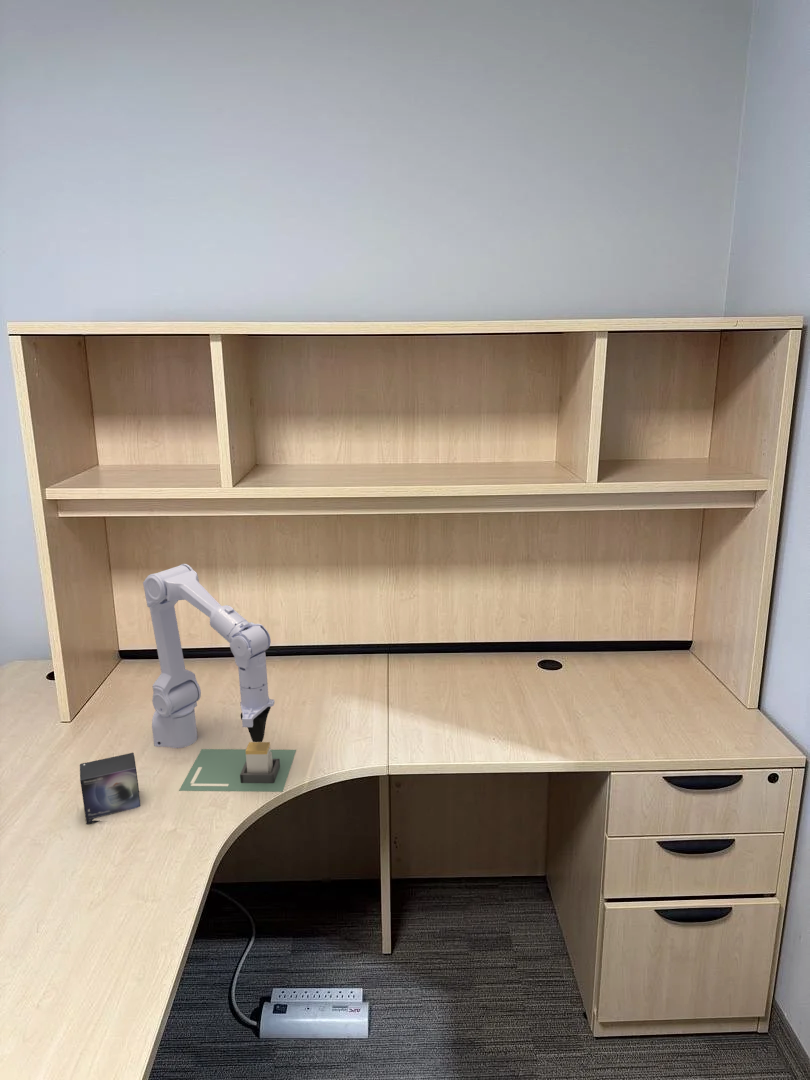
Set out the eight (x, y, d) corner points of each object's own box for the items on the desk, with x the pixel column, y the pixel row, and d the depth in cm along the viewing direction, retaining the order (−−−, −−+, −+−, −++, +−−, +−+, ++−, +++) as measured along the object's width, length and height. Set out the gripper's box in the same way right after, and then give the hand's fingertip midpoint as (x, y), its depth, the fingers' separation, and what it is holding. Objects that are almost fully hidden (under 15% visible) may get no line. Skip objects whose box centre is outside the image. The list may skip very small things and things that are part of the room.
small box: (85, 826, 146) (78, 780, 144) (85, 807, 152) (78, 763, 149) (142, 812, 150) (136, 767, 148) (139, 794, 156) (133, 751, 153)
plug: (247, 778, 159) (245, 751, 157) (251, 769, 162) (249, 742, 160) (271, 778, 159) (268, 751, 157) (274, 769, 162) (272, 742, 160)
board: (179, 795, 156) (177, 782, 155) (202, 753, 171) (200, 741, 170) (283, 796, 155) (282, 783, 154) (296, 754, 170) (295, 741, 169)
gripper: (264, 699, 147) (269, 759, 151) (279, 667, 161) (283, 722, 165) (229, 699, 148) (235, 759, 151) (247, 667, 162) (251, 722, 165)
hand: (258, 740), depth 158 cm, fingers closed
